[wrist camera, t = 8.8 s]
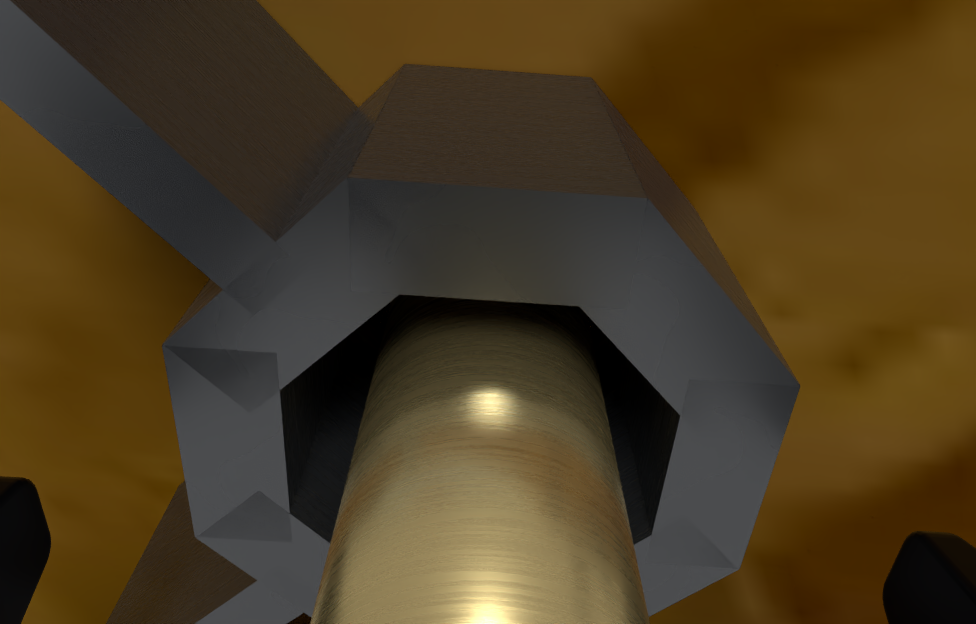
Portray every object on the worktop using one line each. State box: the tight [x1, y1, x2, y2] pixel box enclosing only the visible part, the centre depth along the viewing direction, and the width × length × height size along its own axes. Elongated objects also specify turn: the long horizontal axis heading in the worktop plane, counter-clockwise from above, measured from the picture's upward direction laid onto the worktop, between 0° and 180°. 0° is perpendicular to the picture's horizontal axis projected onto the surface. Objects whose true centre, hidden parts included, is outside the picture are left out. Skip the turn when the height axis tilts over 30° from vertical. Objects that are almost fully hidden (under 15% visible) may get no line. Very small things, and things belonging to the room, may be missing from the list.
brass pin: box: [310, 294, 650, 624], centre depth 9 cm, size 3×3×10 cm
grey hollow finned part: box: [0, 0, 800, 624], centre depth 11 cm, size 11×11×5 cm
